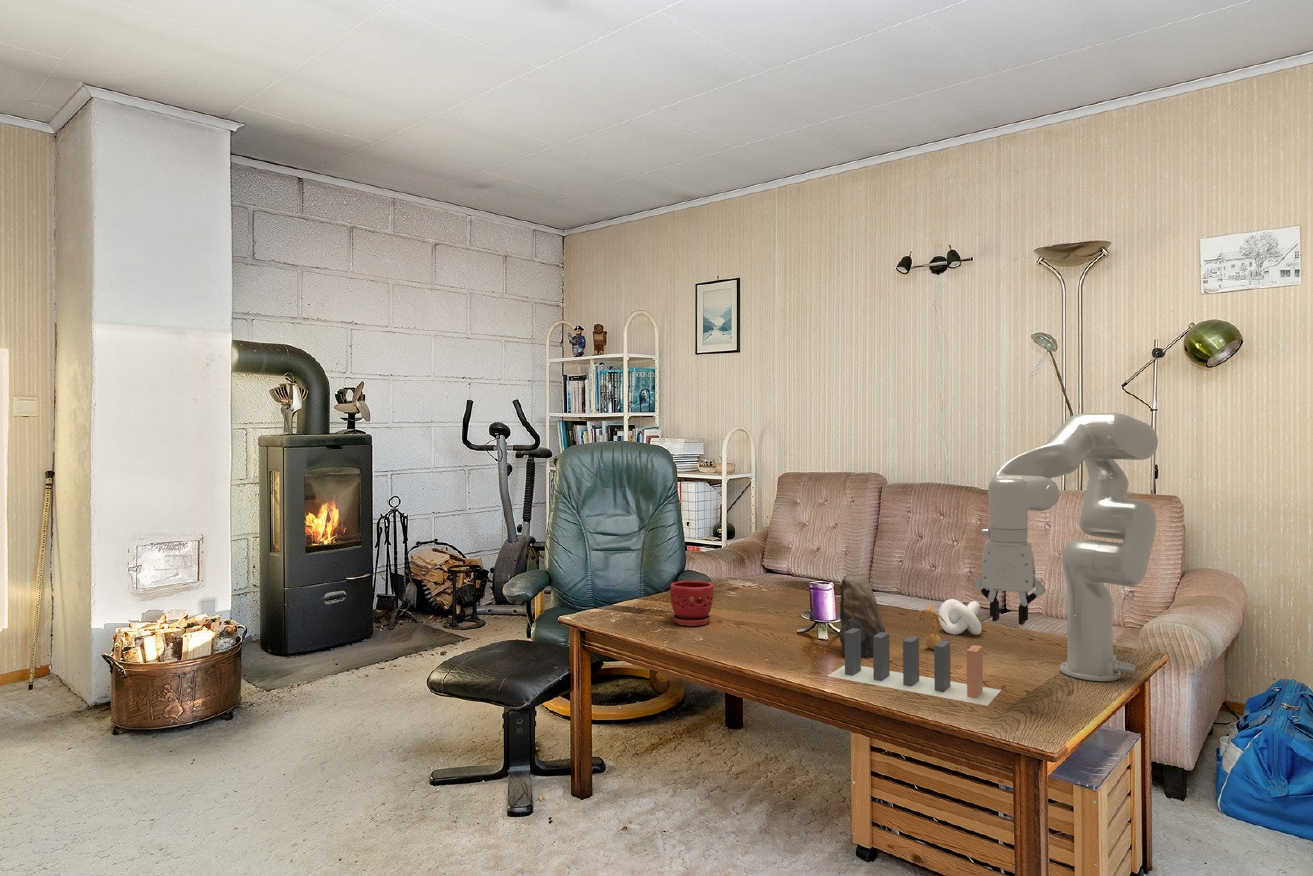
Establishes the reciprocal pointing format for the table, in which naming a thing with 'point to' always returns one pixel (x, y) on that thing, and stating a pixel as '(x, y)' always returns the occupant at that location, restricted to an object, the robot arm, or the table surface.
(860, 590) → the tall jagged boulder
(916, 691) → the felt mat
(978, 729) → the table surface
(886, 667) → the slate domino
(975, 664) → the rust domino
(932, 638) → the figurine
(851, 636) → the slate domino
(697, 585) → the plant pot
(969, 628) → the white knot sculpture
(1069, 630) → the robot arm
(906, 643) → the slate domino
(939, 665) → the slate domino
